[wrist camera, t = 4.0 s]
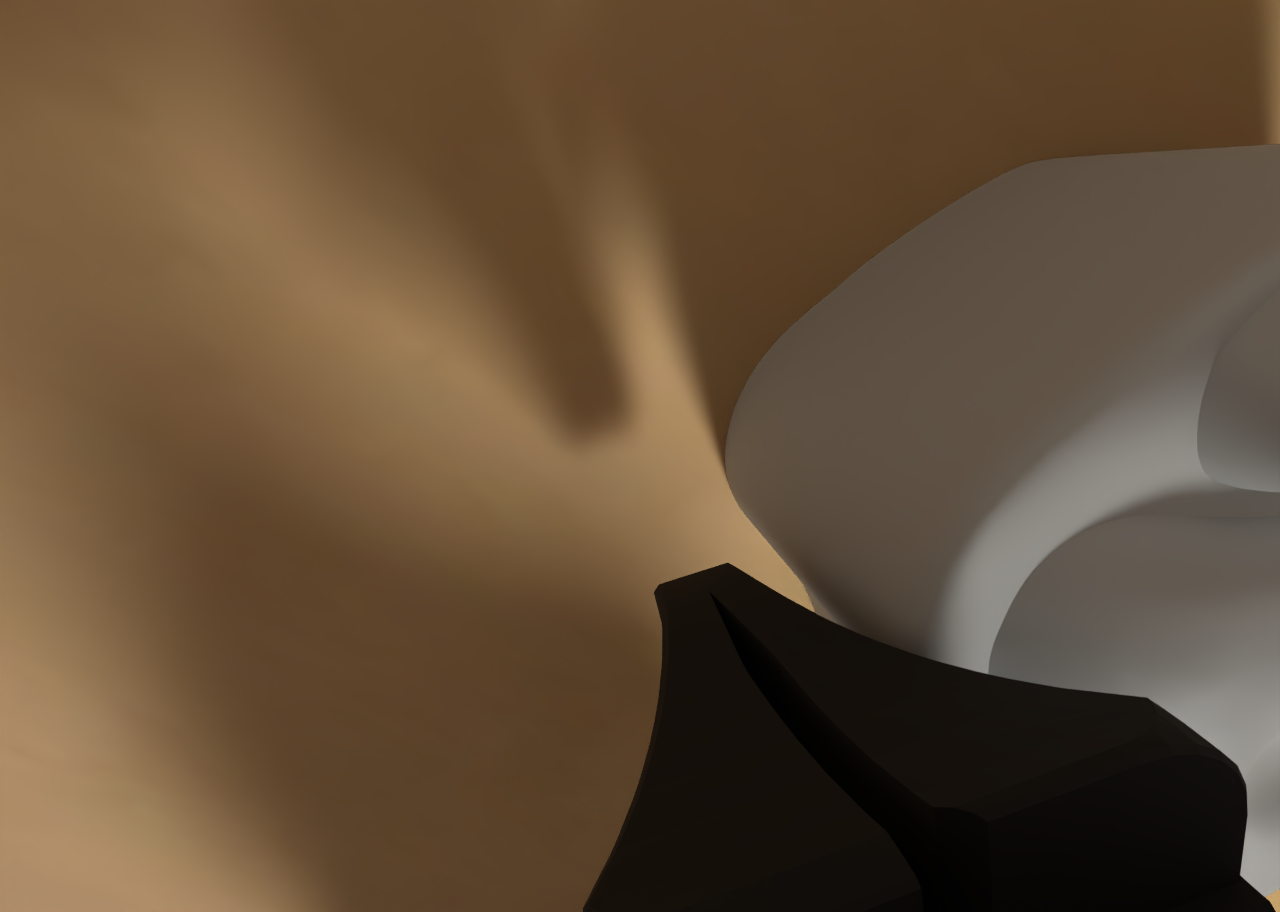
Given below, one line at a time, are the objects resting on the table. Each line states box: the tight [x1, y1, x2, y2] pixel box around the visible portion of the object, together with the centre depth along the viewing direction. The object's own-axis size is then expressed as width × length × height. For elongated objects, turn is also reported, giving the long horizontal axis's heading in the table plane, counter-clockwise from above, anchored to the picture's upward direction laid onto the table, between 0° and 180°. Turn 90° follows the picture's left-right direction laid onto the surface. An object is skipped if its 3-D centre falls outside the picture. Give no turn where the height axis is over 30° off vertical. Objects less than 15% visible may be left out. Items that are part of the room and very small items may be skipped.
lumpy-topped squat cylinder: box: [725, 144, 1280, 897], centre depth 12 cm, size 10×13×9 cm
